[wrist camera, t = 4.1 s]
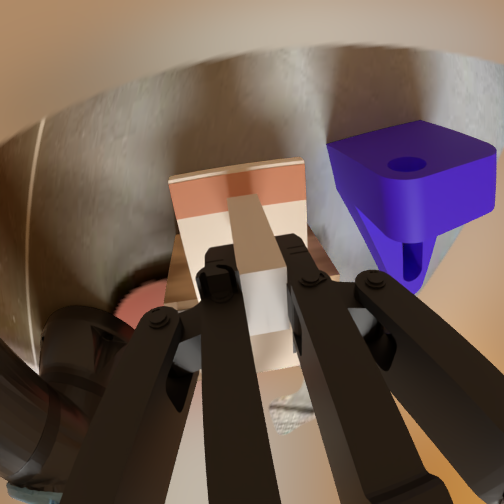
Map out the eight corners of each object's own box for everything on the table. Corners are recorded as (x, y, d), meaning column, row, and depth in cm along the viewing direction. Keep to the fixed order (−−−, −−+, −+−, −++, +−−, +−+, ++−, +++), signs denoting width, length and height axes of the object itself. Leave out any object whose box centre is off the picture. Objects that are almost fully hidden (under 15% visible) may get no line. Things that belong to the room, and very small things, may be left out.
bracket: (325, 143, 26) (395, 186, 15) (420, 120, 25) (506, 150, 15) (353, 291, 35) (397, 365, 25) (427, 260, 34) (481, 319, 24)
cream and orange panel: (198, 295, 20) (198, 303, 19) (169, 176, 15) (167, 180, 15) (304, 277, 20) (308, 284, 19) (299, 156, 16) (304, 160, 15)
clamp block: (195, 306, 33) (195, 389, 23) (175, 234, 28) (162, 312, 19) (303, 289, 33) (334, 364, 24) (301, 214, 29) (344, 282, 19)
